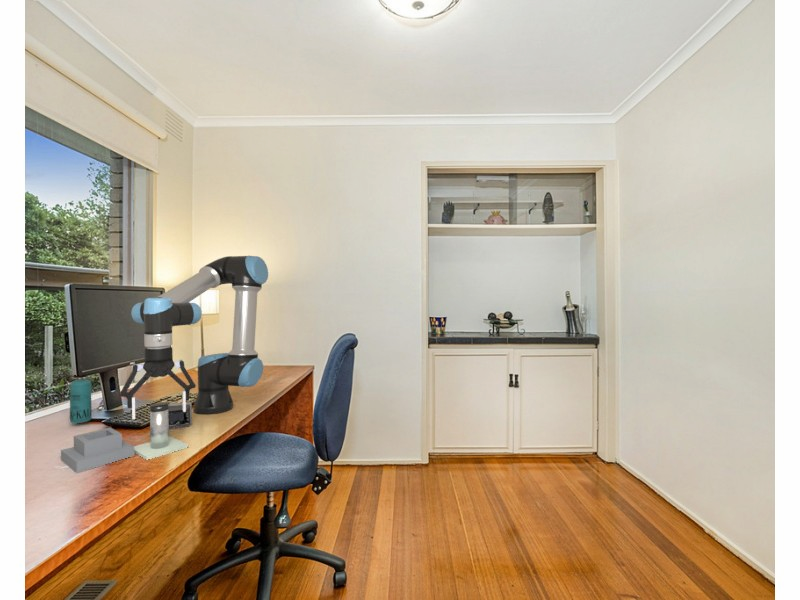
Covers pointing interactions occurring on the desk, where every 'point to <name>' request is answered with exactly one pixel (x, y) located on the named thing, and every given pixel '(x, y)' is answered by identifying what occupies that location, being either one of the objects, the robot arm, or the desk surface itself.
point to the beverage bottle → (80, 400)
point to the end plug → (159, 425)
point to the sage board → (150, 453)
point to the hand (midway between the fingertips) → (159, 414)
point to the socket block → (96, 450)
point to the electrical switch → (179, 415)
